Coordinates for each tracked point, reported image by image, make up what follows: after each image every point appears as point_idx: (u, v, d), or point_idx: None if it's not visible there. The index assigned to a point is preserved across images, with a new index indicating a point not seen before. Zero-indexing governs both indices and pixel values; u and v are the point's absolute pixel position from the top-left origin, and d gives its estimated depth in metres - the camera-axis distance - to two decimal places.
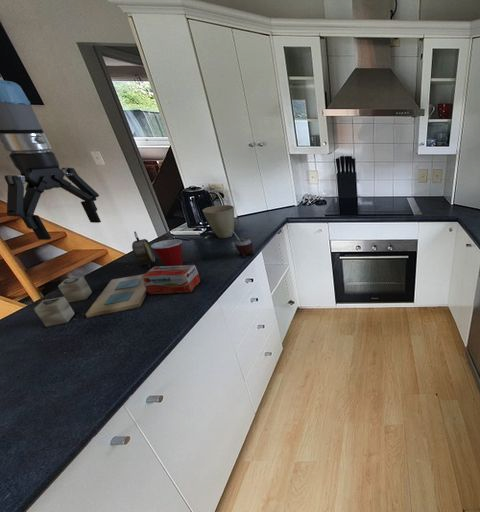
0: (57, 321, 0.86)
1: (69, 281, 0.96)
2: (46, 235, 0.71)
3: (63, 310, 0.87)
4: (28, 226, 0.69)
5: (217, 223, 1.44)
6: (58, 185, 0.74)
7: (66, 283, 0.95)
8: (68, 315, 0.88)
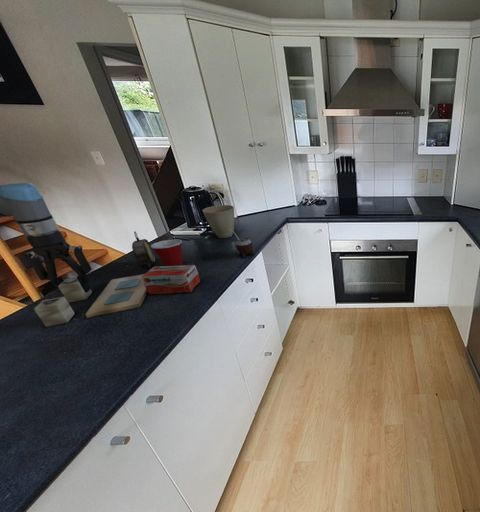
0: (57, 321, 0.86)
1: (69, 281, 0.96)
2: None
3: (63, 310, 0.87)
4: None
5: (217, 223, 1.44)
6: None
7: (66, 283, 0.95)
8: (68, 315, 0.88)
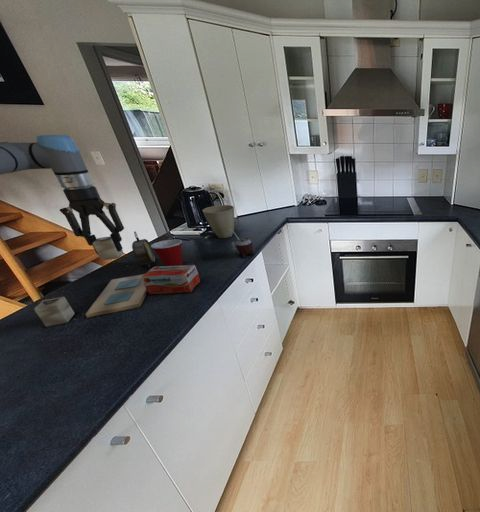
0: (57, 321, 0.86)
1: (103, 239, 0.96)
2: None
3: (63, 310, 0.87)
4: None
5: (217, 223, 1.44)
6: None
7: (100, 241, 0.95)
8: (68, 315, 0.88)
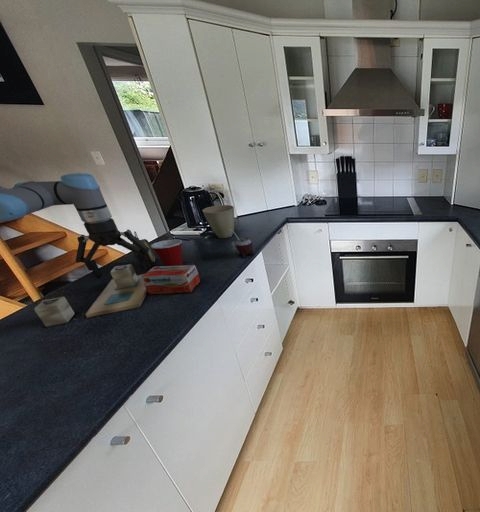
0: (57, 321, 0.86)
1: (120, 268, 1.02)
2: (95, 276, 0.99)
3: (63, 310, 0.87)
4: None
5: (217, 223, 1.44)
6: (112, 243, 0.97)
7: (117, 270, 1.01)
8: (68, 315, 0.88)
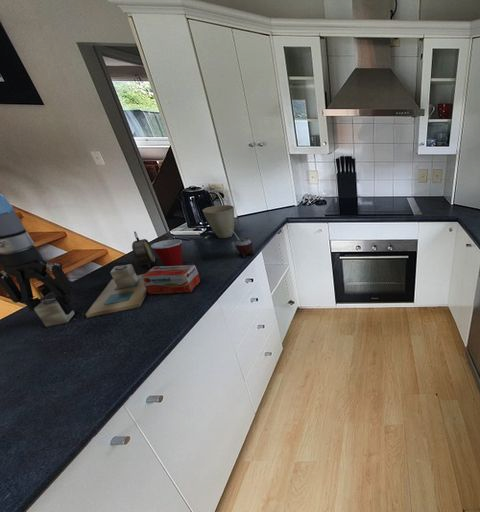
0: (57, 321, 0.86)
1: (120, 268, 1.02)
2: None
3: None
4: None
5: (217, 223, 1.44)
6: None
7: (117, 270, 1.01)
8: (68, 315, 0.88)
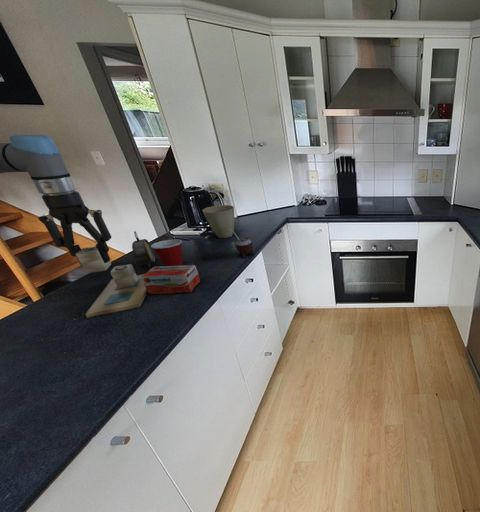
0: (96, 268, 0.89)
1: (120, 268, 1.02)
2: (80, 263, 0.87)
3: None
4: None
5: (217, 223, 1.44)
6: None
7: (117, 270, 1.01)
8: (106, 263, 0.91)
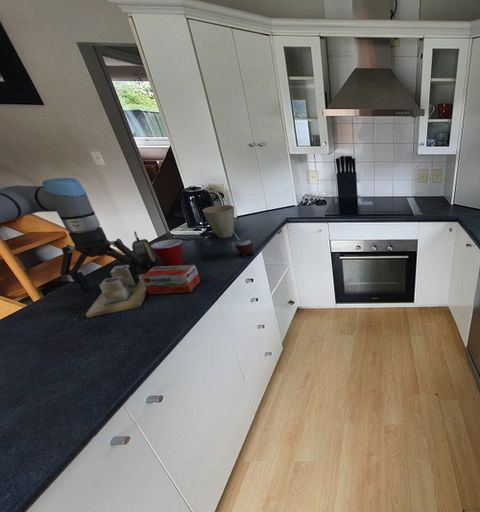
0: (117, 298, 0.95)
1: (120, 268, 1.02)
2: (83, 289, 0.91)
3: (123, 288, 0.96)
4: None
5: (217, 223, 1.44)
6: (100, 254, 0.89)
7: (117, 270, 1.01)
8: (126, 293, 0.97)
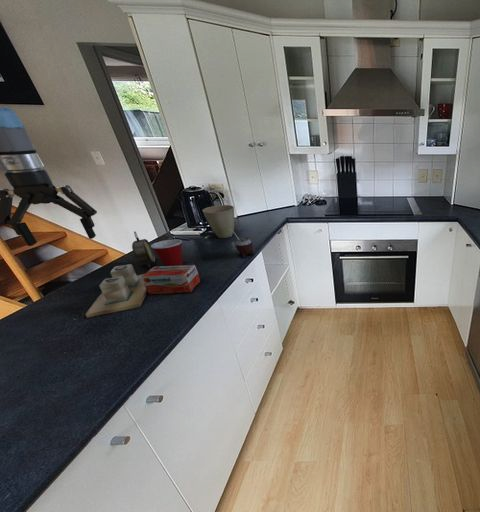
0: (117, 298, 0.95)
1: (120, 268, 1.02)
2: (27, 242, 0.80)
3: (123, 288, 0.96)
4: None
5: (217, 223, 1.44)
6: (45, 201, 0.79)
7: (117, 270, 1.01)
8: (126, 293, 0.97)
